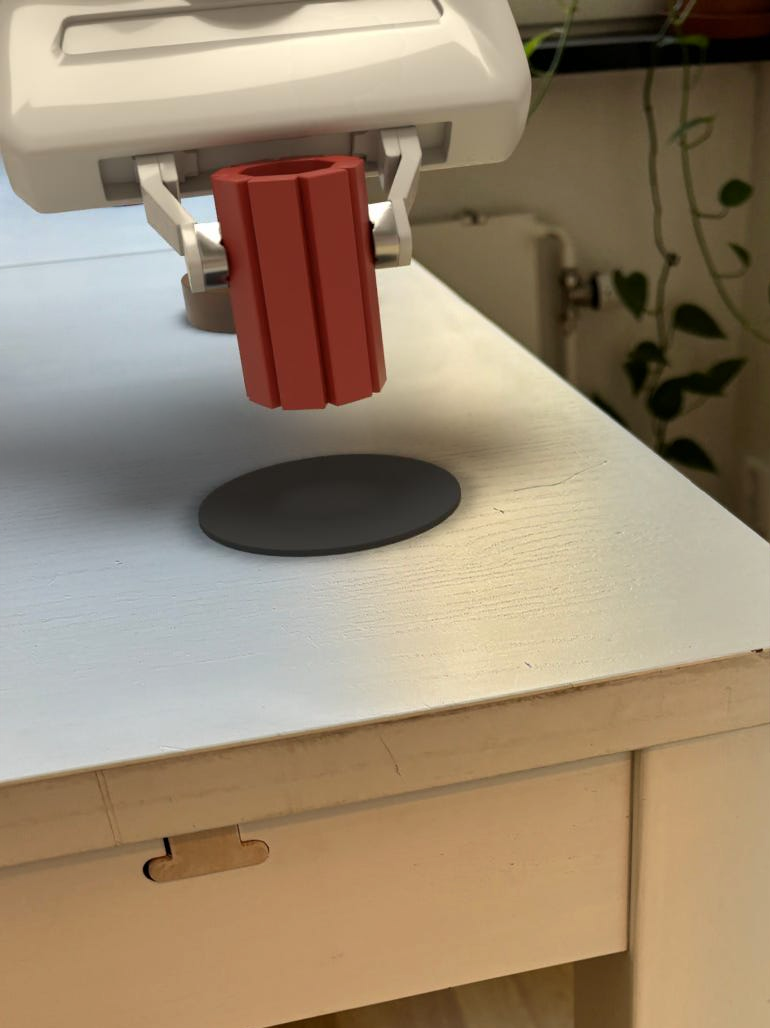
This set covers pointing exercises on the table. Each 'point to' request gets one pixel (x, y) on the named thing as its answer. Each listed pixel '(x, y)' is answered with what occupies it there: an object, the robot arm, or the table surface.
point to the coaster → (329, 505)
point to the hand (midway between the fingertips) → (304, 270)
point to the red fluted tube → (302, 279)
